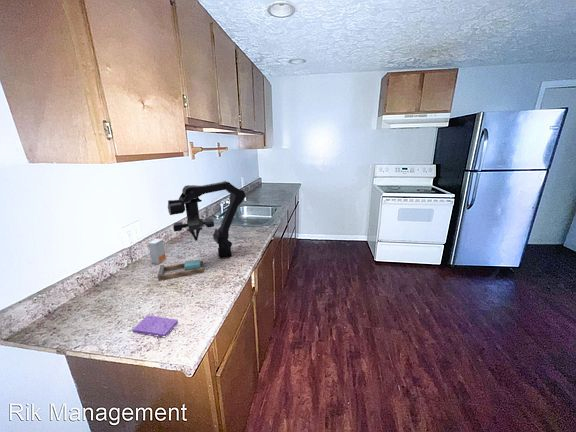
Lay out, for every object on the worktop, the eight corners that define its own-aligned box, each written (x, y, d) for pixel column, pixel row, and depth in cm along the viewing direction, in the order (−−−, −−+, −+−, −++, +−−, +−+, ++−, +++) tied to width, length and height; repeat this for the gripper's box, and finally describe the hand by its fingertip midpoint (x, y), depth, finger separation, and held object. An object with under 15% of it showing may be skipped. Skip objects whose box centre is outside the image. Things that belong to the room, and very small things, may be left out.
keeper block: (200, 266, 120) (200, 259, 119) (200, 271, 115) (199, 264, 114) (186, 268, 118) (185, 261, 117) (185, 273, 113) (184, 266, 112)
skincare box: (158, 264, 122) (154, 243, 118) (151, 263, 122) (147, 242, 119) (166, 259, 127) (163, 239, 124) (160, 258, 128) (156, 238, 124)
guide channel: (203, 263, 122) (202, 258, 121) (204, 272, 114) (203, 266, 113) (161, 270, 115) (160, 265, 115) (158, 280, 107) (157, 275, 106)
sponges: (165, 339, 76) (164, 334, 75) (132, 333, 78) (131, 328, 78) (178, 323, 82) (178, 319, 82) (148, 318, 85) (147, 314, 84)
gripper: (170, 218, 104) (175, 249, 109) (213, 213, 110) (216, 243, 115) (172, 211, 114) (176, 240, 118) (211, 207, 120) (214, 235, 125)
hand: (196, 240), depth 119 cm, fingers closed
